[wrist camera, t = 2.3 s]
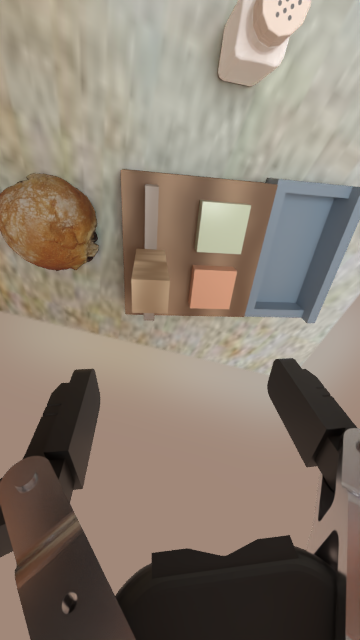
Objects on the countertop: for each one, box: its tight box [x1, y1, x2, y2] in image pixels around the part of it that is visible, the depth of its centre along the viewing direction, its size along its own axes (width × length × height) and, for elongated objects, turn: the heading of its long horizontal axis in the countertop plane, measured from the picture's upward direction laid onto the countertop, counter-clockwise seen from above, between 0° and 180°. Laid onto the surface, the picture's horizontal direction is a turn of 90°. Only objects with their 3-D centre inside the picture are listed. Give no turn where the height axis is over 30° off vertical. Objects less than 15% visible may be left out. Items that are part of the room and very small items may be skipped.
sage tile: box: [195, 200, 251, 254], centre depth 27 cm, size 5×5×2 cm
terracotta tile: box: [188, 265, 237, 309], centre depth 30 cm, size 5×5×2 cm
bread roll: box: [0, 173, 99, 271], centre depth 27 cm, size 10×10×8 cm
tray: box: [245, 178, 360, 323], centre depth 32 cm, size 10×17×4 cm, turn 175°
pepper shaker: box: [218, 0, 311, 86], centre depth 19 cm, size 4×4×10 cm
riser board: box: [121, 169, 278, 317], centre depth 30 cm, size 16×16×4 cm
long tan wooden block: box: [131, 184, 170, 320], centre depth 23 cm, size 3×14×11 cm, turn 175°
